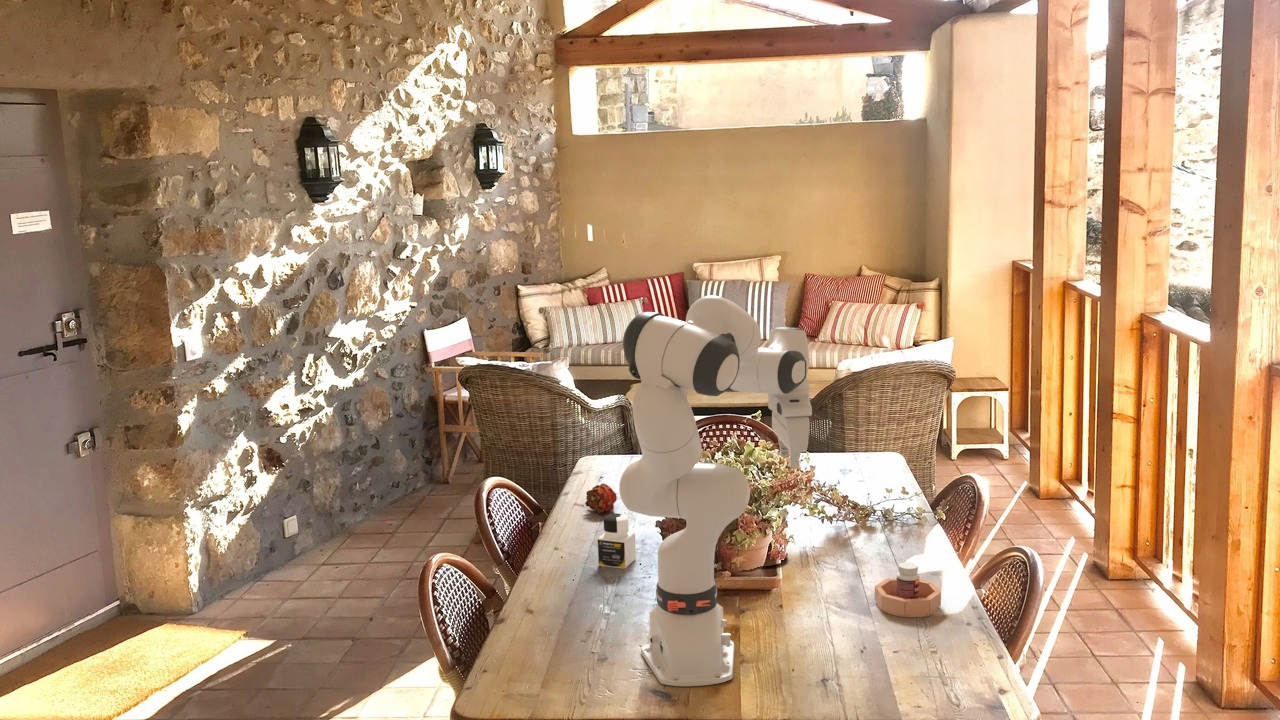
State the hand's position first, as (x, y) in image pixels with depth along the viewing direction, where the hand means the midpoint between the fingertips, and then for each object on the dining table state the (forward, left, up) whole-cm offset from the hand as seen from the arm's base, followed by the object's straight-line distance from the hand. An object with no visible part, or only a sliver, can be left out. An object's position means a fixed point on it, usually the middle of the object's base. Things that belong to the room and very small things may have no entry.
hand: (789, 461), depth 240 cm
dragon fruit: (+68, +39, -31) cm, 84 cm away
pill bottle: (-9, -24, -30) cm, 40 cm away
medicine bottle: (+27, +37, -31) cm, 55 cm away
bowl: (-9, -24, -31) cm, 40 cm away
